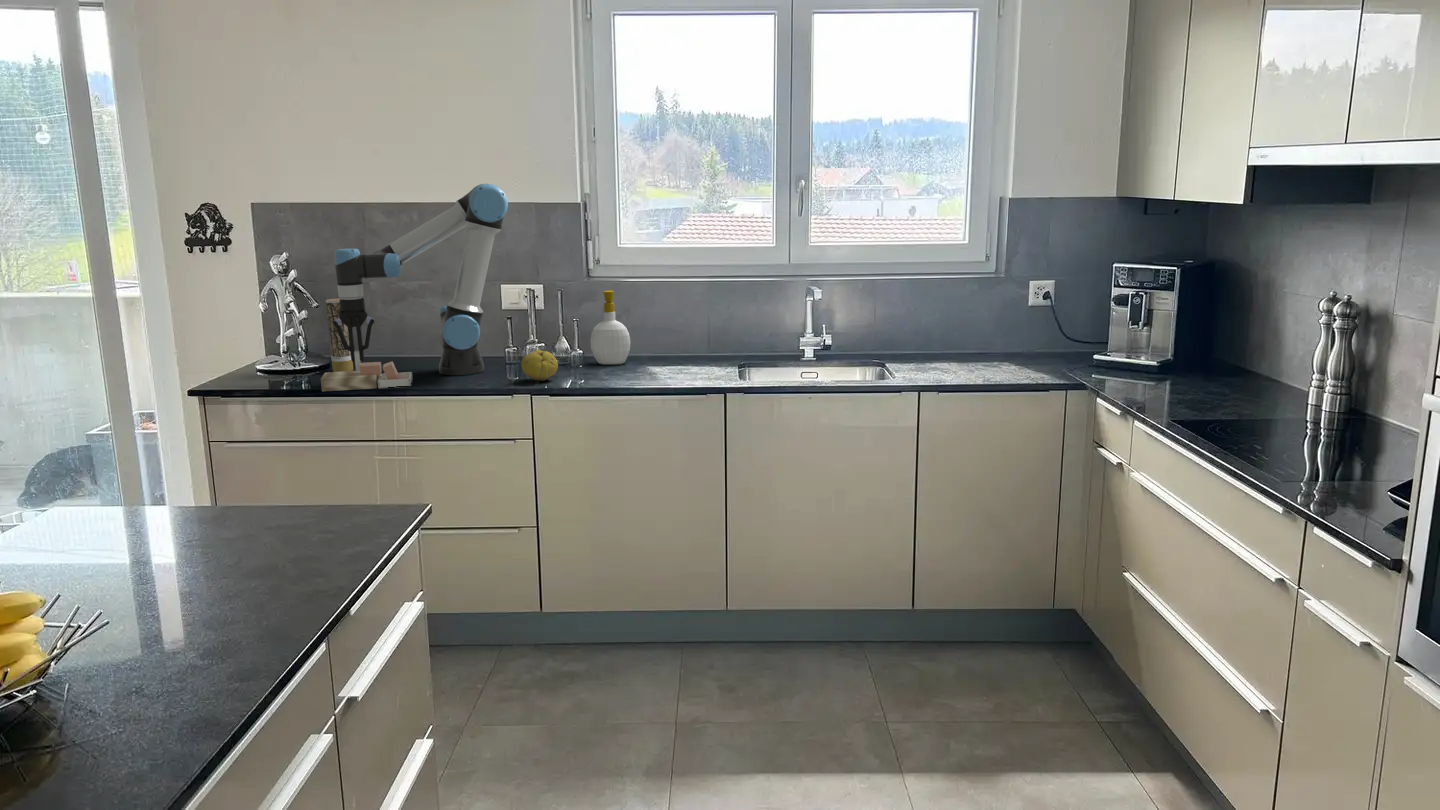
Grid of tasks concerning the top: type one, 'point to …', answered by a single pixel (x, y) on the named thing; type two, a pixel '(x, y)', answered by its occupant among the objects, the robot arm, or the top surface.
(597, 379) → the top surface
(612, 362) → the soap bottle
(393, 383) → the tray
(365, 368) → the tile
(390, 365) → the tile
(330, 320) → the bark textured cylinder
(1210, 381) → the top surface
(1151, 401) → the top surface
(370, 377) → the board
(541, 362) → the fruit
